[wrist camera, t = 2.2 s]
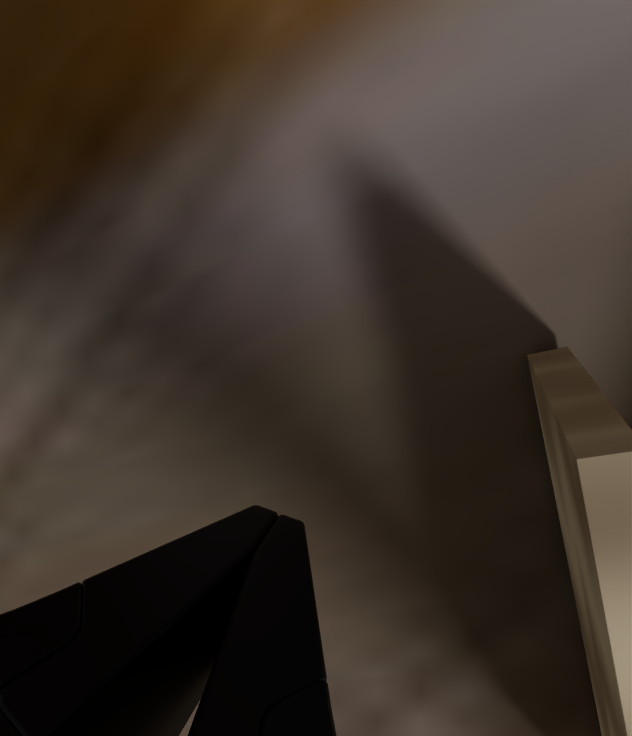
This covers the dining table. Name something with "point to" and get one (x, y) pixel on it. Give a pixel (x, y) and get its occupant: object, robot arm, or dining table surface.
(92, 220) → the dining table surface
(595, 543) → the beige plank
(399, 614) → the dining table surface
